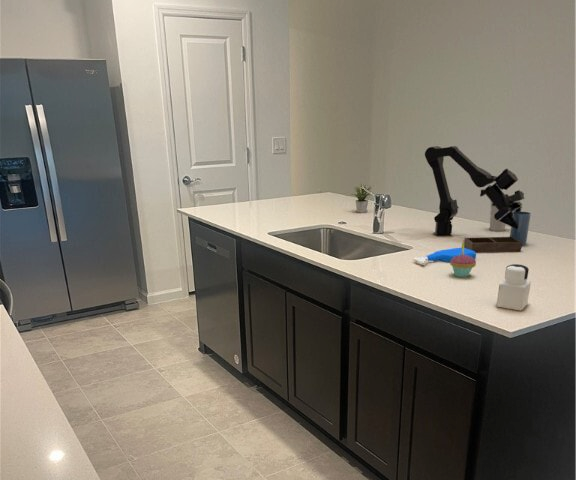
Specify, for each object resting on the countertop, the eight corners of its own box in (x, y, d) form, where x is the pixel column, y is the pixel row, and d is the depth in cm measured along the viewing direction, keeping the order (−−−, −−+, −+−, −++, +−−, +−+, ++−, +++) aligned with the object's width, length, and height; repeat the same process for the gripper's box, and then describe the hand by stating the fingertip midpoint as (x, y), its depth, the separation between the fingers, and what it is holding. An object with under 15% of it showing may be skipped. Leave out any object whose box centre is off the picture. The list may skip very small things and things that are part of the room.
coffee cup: (507, 228, 261) (512, 196, 255) (508, 232, 252) (512, 199, 247) (486, 227, 264) (490, 195, 258) (486, 231, 255) (490, 198, 250)
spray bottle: (460, 246, 217) (408, 254, 208) (479, 252, 207) (425, 260, 199) (459, 253, 218) (407, 261, 210) (478, 259, 209) (425, 268, 200)
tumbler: (512, 245, 228) (516, 214, 223) (506, 242, 234) (510, 211, 229) (528, 245, 228) (533, 214, 223) (522, 241, 234) (526, 211, 229)
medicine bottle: (502, 300, 166) (508, 261, 161) (527, 304, 162) (533, 264, 157) (496, 306, 160) (501, 267, 156) (521, 311, 156) (527, 270, 152)
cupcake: (445, 272, 194) (448, 238, 190) (468, 271, 195) (472, 237, 190) (454, 279, 186) (458, 244, 182) (478, 278, 187) (482, 243, 182)
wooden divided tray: (471, 252, 219) (472, 243, 218) (463, 246, 229) (464, 237, 227) (520, 251, 219) (522, 242, 218) (510, 245, 229) (512, 236, 227)
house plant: (376, 214, 301) (378, 183, 295) (351, 214, 301) (352, 184, 295) (373, 209, 314) (374, 180, 308) (349, 210, 314) (350, 181, 308)
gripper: (505, 186, 218) (530, 217, 216) (520, 181, 232) (543, 210, 229) (483, 205, 226) (507, 234, 224) (499, 199, 239) (521, 227, 237)
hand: (520, 226), depth 228 cm, fingers open, 9 cm apart
